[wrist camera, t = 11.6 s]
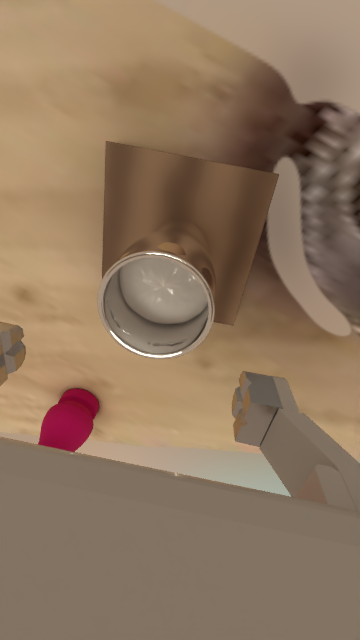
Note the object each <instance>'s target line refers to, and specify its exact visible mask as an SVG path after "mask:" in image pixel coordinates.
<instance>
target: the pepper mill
mask: <svg viewBox="0 0 360 640" xmlns="http://www.w3.org/2000/svg"><path fill="white" fill-rule="evenodd" d="M98 409H99V403H98V400H97V399H96V397H95V396H94V395H93V394H91V393H90V392H88V391H86V390H83V389H70V390H68V391H66V392H65V393H64V394H63V396H62V397H61V399H60V400H59V402H58V404H56V405H54V406H53V407H51V408H50V409H49V411H48V412H47V414H46V415H45V417H44V420H43V423H42V426H41V433H40V439H39V443H38V445H42V446H47V447H52V448H57V449H62V450H67V451H71V452H75V450H77V449H78V448H79V447H80V446H81V445H82V444H83V443H84V442H85V441H86V440H87V438H88V437H89V435H90V434H91V432H92V429H93V419H94V418H95V416H96V414H97V412H98Z"/></svg>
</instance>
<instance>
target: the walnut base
mask: <svg viewBox="0 0 360 640" xmlns="http://www.w3.org/2000/svg"><path fill="white" fill-rule="evenodd" d="M278 177H279V174H275V173H270V172H265V171H260V170H255V169H249V168H244V167H239V166H234V165H228V164H223V163H218V162H213V161H207V160H202V159H197V158H192V157H187V156H181V155H176V154H171V153H166V152H160V151H155V150H150V149H145V148H139V147H134V146H129V145H124V144H119V143H113V142H108V141H106V154H105V190H104V225H103V261H102V279H103V277H104V275H105V274H106V272H107V271H108V270H109V269H110V268H111V267H112V266H113V265H114V263H115V262H116V260H117V259H118V258H119V257H120V255H121V254H122V253H123V252H124V251H125V250H126V249H127V248H128V247H129V246H130V245H131V244H133V243H134V242H135V241H137V240H138V239H140V238H141V237H143V236H145V235H147V234H149V233H152V232H156V231H157V230H158V229H159V228H160V227H161V226H162V225H163V224H165V223H167V222H169V221H173V220H185V221H188V222H191V223H193V224H195V225H196V226H197V227H198V228H200V229H201V231H202V232H203V233H204V235H205V237H206V239H207V242H208V255H209V256H210V258H211V261H212V263H213V266H214V271H215V276H216V301H215V315H214V320H213V322H217V323H222V324H227V325H234V321H235V318H236V315H237V312H238V308H239V305H240V302H241V298H242V295H243V292H244V289H245V285H246V282H247V279H248V275H249V272H250V269H251V266H252V262H253V259H254V256H255V252H256V249H257V246H258V243H259V239H260V236H261V233H262V229H263V226H264V223H265V220H266V216H267V213H268V210H269V206H270V203H271V200H272V197H273V193H274V190H275V186H276V183H277V180H278Z"/></svg>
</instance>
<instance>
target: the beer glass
mask: <svg viewBox="0 0 360 640" xmlns="http://www.w3.org/2000/svg"><path fill="white" fill-rule="evenodd" d="M215 301H216V276H215V271H214V266H213V263H212V261H211V258H210V256H209V255H208V242H207V239H206V237H205V235H204V233H203V232H202V231H201V229H200V228H198V227H197V226H196V225H195V224H193V223H191V222H188V221H185V220H173V221H169V222H167V223H165V224H163V225H162V226H161V227H160V228H159V229H158V230H157V231H156V232H152V233H149V234H147V235H145V236H143V237H141V238H140V239H138V240H137V241H135V242H134V243H133V244H131V245H130V246H129V247H128V248H127V249H126V250H125V251H124V252H123V253H122V254H121V255H120V257H119V258H118V259H117V260H116V262H115V263H114V265H113V266H112V267H111V268H110V269H109V270H108V271H107V272H106V274H105V275H104V277H103V279H102V281H101V283H100V286H99V290H98V296H97V306H98V312H99V316H100V319H101V321H102V323H103V325H104V327H105V329H106V330H107V332H108V333H109V335H110V336H111V337H112V338H113V339H114V340H115V341H116V342H117V343H118V344H119V345H121V346H122V347H123V348H125V349H127V350H128V351H130V352H132V353H134V354H137V355H139V356H142V357H146V358H151V359H170V358H175V357H179V356H182V355H184V354H186V353H188V352H190V351H192V350H193V349H195V348H196V347H197V346H199V345H200V344H201V343H202V342H203V340H204V339H205V338H206V336H207V335H208V333H209V331H210V329H211V327H212V324H213V320H214V315H215Z"/></svg>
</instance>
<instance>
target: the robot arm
mask: <svg viewBox="0 0 360 640" xmlns="http://www.w3.org/2000/svg"><path fill="white" fill-rule="evenodd" d="M23 337H24V334H23V329H22V328H21V327H20V326H18V325H13V324H9V323H4V322H0V386H1V385H2V384H3V383H4V382H5V381H6V380H7V379H8V374H9V373H12V372H15V371H17V370H18V369H19V367H20V366H21V365H22V363H23V361H24V359H25V355H26V348H25V346H24V344H23V343H22V342H21V339H22V338H23ZM239 384H240V386H239V387H238V388H236V389H235V392H234V395H233V401H232V415H233V416H234V417H235V422H234V424H233V427H234V437H235V441H236V442H240V443H245V444H249V445H253V446H257V447H260V450H261V451H262V453H263V454H264V456H265V457H266V459H267V460H268V462H269V463H270V465H271V466H272V468H273V469H274V471H275V472H276V473H277V475H278V477H279V478H280V480H281V481H282V482H283V484H284V486H285V487H286V488H287V490H288V492H289V493H290V494H291V496H292V497H289V496H285V495H280V494H275V493H270V492H265V491H260V490H256V489H250V488H246V487H241V486H236V485H231V484H226V483H221V482H217V481H211V480H207V479H202V478H197V477H192V476H188V475H183V474H178V473H173V472H168V471H164V470H158V469H153V468H149V467H144V466H139V465H134V464H129V463H125V462H120V461H115V460H110V459H105V458H100V457H96V456H90V455H86V454H81V453H76V452H71V451H67V450H62V449H57V448H52V447H47V446H42V445H37V444H32V443H28V442H23V441H18V440H13V439H8V438H4V437H0V640H360V463H359V462H358V461H357V460H355V459H354V458H353V457H352V456H351V455H350V454H349V453H348V452H347V451H345V450H344V449H343V448H342V447H341V446H340V445H339V444H338V443H337V442H335V441H334V440H333V439H332V438H331V437H330V436H329V435H328V434H326V433H325V432H324V431H323V430H322V429H321V428H320V427H319V426H318V425H316V424H315V423H314V422H313V421H312V420H311V419H310V418H309V417H308V416H306V415H305V414H304V413H300V412H299V409H298V407H297V404H296V402H295V399H294V397H293V394H292V392H291V389H290V387H289V384H288V382H287V380H286V379H285V378H281V377H275V376H267V375H262V374H256V373H251V372H246V371H243V372H242V373H241V375H240V378H239Z"/></svg>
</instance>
